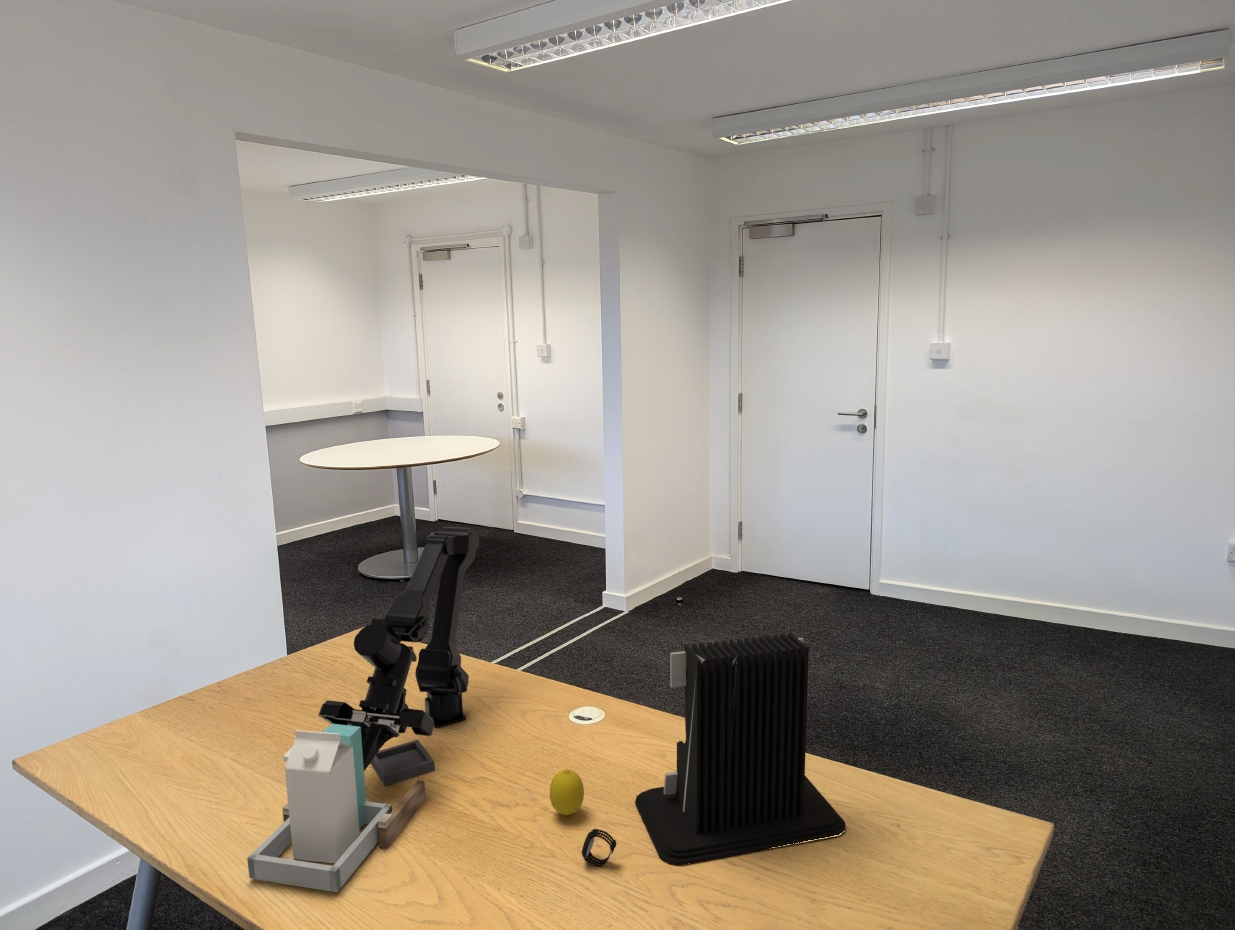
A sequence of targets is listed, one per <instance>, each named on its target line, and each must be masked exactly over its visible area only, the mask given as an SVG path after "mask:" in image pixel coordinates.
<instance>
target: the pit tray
mask: <svg viewBox="0 0 1235 930" xmlns="http://www.w3.org/2000/svg"><path fill="white" fill-rule="evenodd" d="M370 765H371V766H372V768H373V770H374V771H375V773H376V775H377V777H378V778H379V780H380V781H381V783H382V784H383V786H384V787H387V786H389V785H392V784H396V783H399V782H402V781H406V780H409V779H412V778H416V777H418V776H423V775H425V774H428V773H431V772H434V771H436V768H435V767H436V766H435V760H434V759H433V758H432V756H431V755H430V753H429V752H428V751H427V749H426V748H425V747H424V746H423V745H422V743H421V741H420V740H419V739H414V740H412V741H408V742H404V743H401V744H399V745H393V746H391V747H388V748H383V749H380V750H379V751H378V753H377V754H376V755H375V757H374V758H373V760H372V761H371V763H370Z"/></svg>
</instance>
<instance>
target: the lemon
mask: <svg viewBox="0 0 1235 930" xmlns="http://www.w3.org/2000/svg"><path fill="white" fill-rule="evenodd" d="M584 797H585V788H584V783H583V781H582V777H581V776H580V775H579V774H578V773H577V772H576V771H574V770H572V769H568V768H566V769H563V770H560V771H558V772H557V773H555V775H554V776H553V777H552V779H551V782H550V787H549V799H550V803H551V805H552V808H553V809H554V810H555V811H556V812H558V813H559V814H561V815H564V816H566V817H567V816H570V815H572V814H575V813H576V812H577V811H579V810H580V808H581V806H582V805H583V802H584Z"/></svg>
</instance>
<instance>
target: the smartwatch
mask: <svg viewBox="0 0 1235 930" xmlns="http://www.w3.org/2000/svg"><path fill="white" fill-rule="evenodd" d="M595 838H600V839H602V840H603V841H604V842H606V843H607V844H608V845H609V849H610V851H609V854H608V856H607V857H605V858H603V859H601V858H597V857H596V856H594V855H593V854H592V852H591V851H592V848H593V846H594V842H595ZM616 847H617V840H616V839H614V838H613V836H612V835H611V834H610V833H609V832H607V831H605V830H602V829H598V828H593V829H592V830H591V831H589V832H588V833H587V835H586V837H585V839H584V841H583V846H582V850H581V855H582V857H583V860H584V861H585V862H587V863H588V864H590V865H592V866H594V867H597V868H598V867H599V868H600V867H603V866H605V865H606V864H607V863H608V861H609V859H610V857H611V855H612V854H613V853H614V851H615V848H616Z"/></svg>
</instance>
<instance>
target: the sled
mask: <svg viewBox="0 0 1235 930" xmlns="http://www.w3.org/2000/svg"><path fill="white" fill-rule="evenodd" d="M322 732H325V733H338V734H340V740H341V741H343V742H345V743H347V744H349V745H351V746H353V754H354V767H355V780H356V794H357V807H358V820H359V830H360V829H361V827H362V826H363V825H364V824H367V826H366V827H365V828H364V829H363V830H362V831H361V832H360V833H359V835H358V836H357V838H356V839H355V840H354V842H353V843H352V844H351V846H350V847H349V848H348V849H347V850H346V851H345V853H344V854H343V855H342V856H341V857H340V858H339V860H338V861H337V862H336V863H333V865H328V864H322V863H315V862H311V861H304V860H298V859H289V858H282V857H279V856H280V855H281V854H282V852H284V850H286V849H287V847H289V846H290V844H292V840H291V829H290V818H288V819H287V820H286V821H285V822H284V821H283V823H282V824H281V825H280V826H278V827H277V828H276V830H275V831H274V832H273V833H272V834H271V835H269V837H267V838H266V839H265V840H264V841H263V842H262V843H261V844H260V845H259V846H257V848H256V849H255V850H253V852H251V854H250V855H249V856H247V858H246V859H247V867H248V875H249V876H248V877H249V879H252V880H258V881H259V880H260V881H263V882H265V881H266V882H272V883H277V884H284V885H290V886H296V887H303V888H308V889H309V888H310V889H313V890H314V889H315V890H321V891H327V892H334V893H338V892H339V890H340V889H341V888H342V887H343V886H344V885H345V883H346V882H347V880H348V879H349V878H351V876H352V875H353V873H354V872H355V871H356V869H358V867H359V866H360V864H362V862H363V861H364V860H365V858H366V857H367V856H368V855H369V854H370V852H371V851H372V850H373V848H375V846H376V845H377V844H378V843H379V842H380V841H379V827H378V821H379V820H380V819H381V817H382V816H383V815H384V814H390V813H391V812H392V811H393V804H388V803H381V802H373V801H367V798H366V794H367V793H366V782H365V781H366V780H365V771H364V766H363V753H362V739H361V727H357V726H348V725H339V724H330V725H328V726H327V728H325V729H324V730H323V731H322Z"/></svg>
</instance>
